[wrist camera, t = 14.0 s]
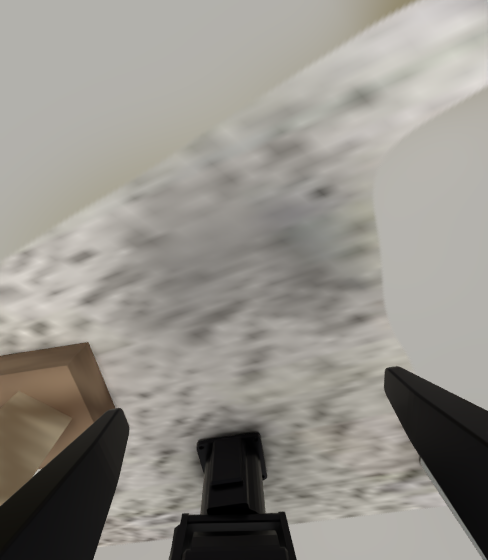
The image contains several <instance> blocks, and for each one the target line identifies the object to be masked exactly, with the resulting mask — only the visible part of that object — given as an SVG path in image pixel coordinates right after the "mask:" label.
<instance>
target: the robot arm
mask: <svg viewBox="0 0 488 560" xmlns="http://www.w3.org/2000/svg"><path fill="white" fill-rule="evenodd" d="M384 390H385V393H386V395H387V397H388V399H389V401H390V403H391V405H392V407H393V409H394V411H395V413H396V415H397V417H398V419H399V421H400V422H401V424H402V426H403V428H404V430H405V432H406V434H407V436H408V438H409V439H410V441H411V443H412V444H413V446H414V448H415V449H416V451H417V452H418V454H419V455H420V457H421V458H422V460H423V462H424V463H425V465H426V466H427V468H428V469H429V471H430V472H431V474H432V475H433V477H434V479H435V480H436V482H437V483H438V485H439V486H440V488H441V489H442V491H443V492H444V494H445V496H446V497H447V499H448V500H449V502H450V503H451V505H452V506H453V508H454V510H455V511H456V513H457V514H458V516H459V517H460V519H461V520H462V522H463V523H464V525H465V527H466V528H467V530H468V531H469V533H470V534H471V536H472V537H473V539H474V541H475V542H476V544H477V545H478V547H479V548H480V550H481V551H482V553H483V554H484V556H485V558H486V559H487V560H488V411H487V410H485V409H483V408H481V407H479V406H476V405H475V404H473V403H471V402H469V401H467V400H465V399H462V398H461V397H459V396H457V395H455V394H453V393H450V392H448V391H447V390H445V389H443V388H441V387H439V386H437V385H435V384H433V383H431V382H429V381H427V380H425V379H423V378H421V377H419V376H417V375H415V374H413V373H411V372H409V371H407V370H405V369H403V368H401V367H398V366H395V367H389V368H386V369H385V377H384ZM128 436H129V424H128V422H127V419H126V417H125V414H124V412H123V410H122V409H121V408H116V409H110V410H108V411H106V412H105V413H104V414H103V415H102V416H101V417H100V418H98V419H97V420H96V421H95V422H94V423H93V424H92V425H91V426H89V427H88V428H87V429H86V430H85V431H84V432H83V433H82V434H80V435H79V436H78V437H77V438H76V439H75V440H74V441H73V442H72V443H70V444H69V445H68V446H67V447H66V448H65V449H64V450H63V451H61V452H60V453H59V454H58V455H57V456H56V457H55V458H54V459H52V460H51V461H50V462H49V463H48V464H47V465H46V466H45V467H43V468H42V469H41V470H40V471H39V472H38V473H37V474H36V475H34V476H33V477H32V478H31V479H30V480H29V481H28V482H27V483H25V484H24V485H23V486H22V487H21V488H20V489H19V490H18V491H16V492H15V493H14V494H13V495H12V496H11V497H10V498H9V499H7V500H6V501H5V502H4V503H3V504H2V505H1V506H0V560H93V558H94V555H95V552H96V549H97V546H98V543H99V540H100V537H101V534H102V530H103V527H104V524H105V521H106V518H107V515H108V512H109V509H110V506H111V503H112V499H113V496H114V493H115V490H116V487H117V483H118V480H119V476H120V471H121V467H122V462H123V458H124V453H125V449H126V445H127V440H128ZM197 452H198V455H199V459H200V462H201V465H202V469H203V472H204V483H203V493H202V504H201V514H200V515H189V513H184V514H182V518H181V523H180V525H178V526H177V527H176V528H175V529H174V535H173V541H172V548H171V552H170V556H169V560H297V559H296V555H295V551H294V547H293V543H292V539H291V535H290V531H289V527H288V522H287V518H286V514H285V512H278V513H266V511H265V502H264V492H263V482H262V480H265V479H266V478H267V472H266V466H265V460H264V454H263V449H262V443H261V437H260V434H259V433H249V434H242V435H235V436H229V437H222V438H215V439H209V440H202V441H199V442H198V443H197Z"/></svg>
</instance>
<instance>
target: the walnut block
mask: <svg viewBox="0 0 488 560" xmlns="http://www.w3.org/2000/svg"><path fill="white" fill-rule="evenodd" d="M18 391H20V392H22V393H24V394H26V395H28V396H30V397H32V398H34V399H36V400H38V401H40V402H42V403H44V404H46V405H48V406H50V407H52V408H54V409H56V410H57V411H59V412H61V413H63V414H65V415H67V416H69V417H71V418H72V420H71V421H70V423H69V424H68V426H67V427H66V428H65V430H64V431H63V433H62V434H61V436H60V437H59V439H58V440H57V442H56V443H55V444H54V446H53V447H52V449H51V450H50V452H49V453H48V455H47V456H46V458H45V459H44V461H43V462H42V463H41V465H40V466H39V468H38V469H41V468H43V467H45V466H46V465H47V464H48V463H49V462H50V461H51V460H52V459H54V458H55V457H56V456H57V455H58V454H59V453H60V452H61V451H63V450H64V449H65V448H66V447H67V446H68V445H69V444H70V443H72V442H73V441H74V440H75V439H76V438H77V437H78V436H79V435H80V434H82V433H83V432H84V431H85V430H86V429H87V428H88V427H89V426H91V425H92V424H93V423H94V422H95V421H96V420H97V419H98V418H100V417H101V416H102V415H103V414H104V413H105V412H106V411H108V410H110V409H116V408H115V406H114V404H113V401H112V399H111V396H110V394H109V391H108V389H107V387H106V384H105V382H104V379H103V377H102V374H101V372H100V370H99V367H98V365H97V362H96V360H95V358H94V355H93V353H92V350H91V348H90V345H89V343H88V342H87V343H80V344H74V345H67V346H61V347H55V348H48V349H42V350H35V351H29V352H22V353H16V354H9V355H3V356H0V408H1V407H2V406H4V405H5V404H6V403H7V402H8V401H9V400H10V399H11V398H12V397H13V396H14V395H15V394H16V393H17V392H18Z"/></svg>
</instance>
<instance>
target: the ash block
mask: <svg viewBox="0 0 488 560" xmlns="http://www.w3.org/2000/svg"><path fill="white" fill-rule="evenodd" d="M71 420H72V418H71V417H69V416H67V415H65V414H63V413H61V412H59V411H57V410H56V409H54V408H52V407H50V406H48V405H46V404H44V403H42V402H40V401H38V400H36V399H34V398H32V397H30V396H28V395H26V394H24V393H22V392H20V391H18V392H17V393H16V394H15V395H14V396H13V397H12V398H11V399H10V400H9V401H8V402H7V403H6V404H5V405H4V406H2V407H1V408H0V506H1V505H2V504H3V503H4V502H5V501H6V500H7V499H9V498H10V497H11V496H12V495H13V494H14V493H15V492H16V491H18V490H19V489H20V488H21V487H22V486H23V485H24V484H25V483H27V482H28V481H29V480H30V479H31V478H32V477H33V475H34V474H35V472H36V471H37V469H38V468H39V466H40V465H41V463H42V462H43V461H44V459H45V458H46V456H47V455H48V453H49V452H50V450H51V449H52V447H53V446H54V444H55V443H56V442H57V440H58V439H59V437H60V436H61V434H62V433H63V431H64V430H65V428H66V427H67V426H68V424H69V423H70V421H71Z"/></svg>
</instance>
